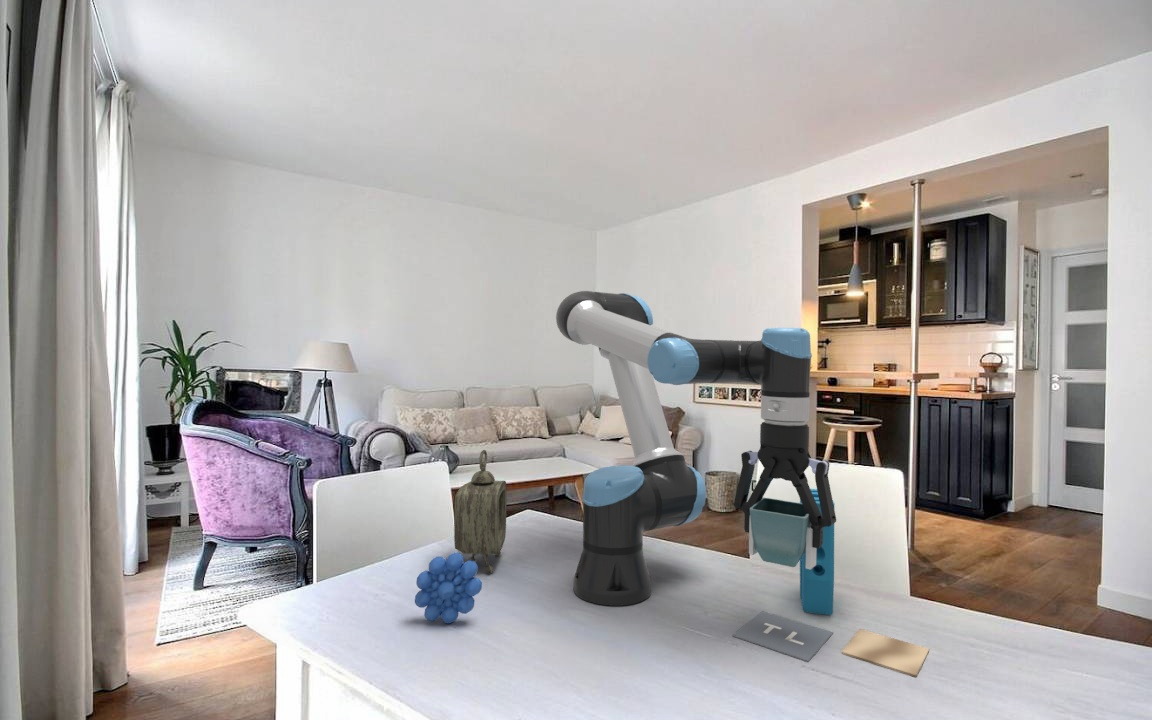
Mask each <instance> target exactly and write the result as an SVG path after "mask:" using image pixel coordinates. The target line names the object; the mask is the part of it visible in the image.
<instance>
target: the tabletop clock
mask: <svg viewBox="0 0 1152 720" xmlns="http://www.w3.org/2000/svg"><path fill="white" fill-rule="evenodd" d="M487 453H488V452H487V451H486V449H483V450H481V452H480V455H479V469H480V470H478V471H476V472H475V473H474V474H473V475H472V476H471V479H470V481H469V482H467V483H465V484H463V485H462V486H460V488H459V489H458V491H457V492H456V494H455V497H454V515H453V517H454V520H453V522H454V525H453V527H454V529H453V532H454V533H453V534H454V537H453V538H454V539H453V540H454V549H455V550H457V551H458V552H459V553H462V554H463V555H471V557H469V558H468V559H467V561H474V562H475V563H477V562H476V558H475V556H476V555H481V556H482V557H483V560H484V561H485V563H486V564H485V565H486V567H485V572H486V573H487V574H491V573H493V571H494V567H493V565H490V561H489V557H488V555H494V556H496V557H498V556H500V555H501V553H502V552H501V551H502V549H503V546H504V543H505V540H506V535H507V534H506V533H507V482H506V480H496V479H495V477H494V474H493V473H492V472H491V471H490V470H489V471H488V470H487V468H486V467H487V463H488V454H487ZM483 456H484V462H483Z"/></svg>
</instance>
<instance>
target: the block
mask: <svg viewBox="0 0 1152 720" xmlns="http://www.w3.org/2000/svg"><path fill="white" fill-rule="evenodd" d="M810 490H811V492H812V494H813V497H814V499H815V501H816V503H817V506H818V508H819V510H820V512H821V507H820V502H819V497H818V491H817V488H810ZM799 503H802V502H801V499H800V498H799ZM833 505H834V506H835V502H834V501H833ZM821 515H822V512H821ZM834 585H835V523H834V524H833V525H831V526H830V527H827V526H826V527H824V528H823V544H822V546H821V547H820V548H819V549H818V548H817V550H816V566H814V567H813V568H812V569H811V570H810V569H806V550H805V552H804V554H803V556H802V557H801V559H800V560H799V597H800V601H801V609H802V611H804V612H805V613H810V614H811V613H812V614H819V615H825V616H826V615H827V616H831V615H833V613H834V612H833V611H834V609H833V608H834V588H835V586H834Z"/></svg>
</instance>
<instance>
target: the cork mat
mask: <svg viewBox="0 0 1152 720" xmlns="http://www.w3.org/2000/svg"><path fill="white" fill-rule="evenodd" d="M929 652H930V647H929V648H927V647H924V646H920V645H917V644H914V643H911V642H908V641H904V640H900V639H897V638H893V637H890V636H887V635H883V634H880V633H876V632H872V631H869V630H865V629H861V628H859V629H858V630H857V632H856V633H854V635H853V636H852V638H851V639H850V640H849V641H848V643H847V644H846V645H845V646H844V648H843V649H842V650H841V654H843V655H845V656H848V657H851V658H855V659H858V660H860V661H861V660H862V661H864V662H867V663H870V664H873V665H877V666H879V667H883V668H886V669H889V670H892V671H895V672H898V673H900V674H901V673H902V674H904V675H907V676H911V677H914V678H917V677H918V675H919V673H920V671H921V668H922V667H923V664H924V663H925V661H926V658H927V656H928V654H929Z"/></svg>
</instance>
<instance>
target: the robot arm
mask: <svg viewBox="0 0 1152 720" xmlns="http://www.w3.org/2000/svg"><path fill="white" fill-rule="evenodd" d="M555 319H556V326H557V328H558V330H559V332H560V333H561V334H562V336H563V337H565V338H566V339H568V340H570V341H571V342H574V343H575V344H579V345H581V346H583V345H584V346H585V345H586V346H587V345H592V346H595V347H597V348H598V350H599V351H598V352H599V355H600V356H601V357H603V358H605V359H607V360H608V363H609V366H610V370H611V373H612V374H611V375H612V378H613V380H614V381H613V382H614V385H615V388H616V392H617V397H618V401H619V403H620V407H621V408H620V409H621V411H622V415H623V418H624V422H625V426H626V429H627V433H628V438H629V441H630V444H631V448H632V452H633V456H634V461H633V463H632V465H626V464H625V465H623V464H622V465H618V466H616V465H609V466H605V467H601V468H598V469H595V470H593V471H591V472H590V473H588V474H587V476H586V477H585V479H584V482H583V491H582V496H581V497H582V498H581V499H582V503H583V504H582V507H583V508H582V510H583V511H582V513H583V514H582V535H583V536H582V551H581V555H580V558H579V560H578V561H579V562H578V564H577V567H576V569H575V570H576V571H575V574H574V576H573V591H574V593H575V595H577V596H578V597H579V598H581V599H582V600H584V601H586V602H590V603H593V604H598V605H603V606H616V607H617V606H628V605H629V606H630V605H634V604H638V603H640V602H643V601H645V600H647V599H649V597H651V595H652V578H651V577H652V576H651V575H650V573H649V569H648V565H647V561H646V558H645V556H644V555H645V554H644V550H643V546H644V544H643V543H644V542H643V541H644V539H643V538H644V537H643V535H644V532H650V531H655V530H659V529H660V530H661V529H663V528H664V529H665V528H670V527H680V526H683V525H684V524H689V523H692V522H693V521H695V520H696V519H697V518H699V516H700V515H701V514H702V512H703V509H704V508H703V507H704V506H705V504H706V500H707V499H706V498H707V493H706V492H707V491H706V490H707V489H706V485H705V481H704V477H702V475H701V473H700V472H699V471H697V469H696V468H694V467H692V466H689V465H687V461H686V459H685V456H684V454H683V453H682V452H680V451H678V450H677V449H675V447H674V444H673V440H672V437H671V434H670V430H669V428H668V425H667V424H668V423H667V421H666V416H665V414H664V411H663V407H662V404H661V400H660V396H659V394H658V390H657V388H656V387H657V386H656V383H655V381H656V382H658V383H660V384H670V385H673V386H681V385H693V384H694V385H695V384H697V385H699V384H700V385H701V384H734V383H735V384H751V385H752V384H754V385H760V390H761V391H760V392H761V393H760V395H761V396H760V397H761V398H760V419H762V420H763V422H761V424H759V425H760V431H759V432H760V434H759V435H760V438H759V443H760V446H759V447H760V448H759V450H758V451H752V450H748V451H744V452H742V453H741V464H742V466H741V470H740V475H739V479H738V482H737V483H738V484H737V487H736V488H737V489H736V492H735V497H734V500H733V507H734V508H736V509H739V510H741V511H742V512H743V514H744V521H743V522H744V526H743V528H744V531H745V533H748V534H749V535H748V554H749V555H751V556H754V555H756V554H757V553H758V552H757V549H756V547H755V544H754V541H753V537H752V529H751V519H750V508H751V507H752V506H753V505H754V504H756V503H757V502H759V501H761V499H762V498H764V496H765V494H766V491H767V490H768V488H769V487H770V484H771V483H772V481H773V480H775V479H776V480H778V479H782V480H785V481H789V482H791V484H792V486H793V487H794V488H795V490H796V492H797V494H798V497H799V500H800V499H801V502H802V504H803V506H804V509H805V511H806V513H807V514H809V520H810V523H811V525H809V526H808V527H807V535H806V569H810V570H811V569H812V568H813V567H814V566H816V550H817V548H818V549H819V548H820V547H821V546H822V544H823V528H824V527H826V526H827V527H830V526H831V525H833V524H834V525H835V523H836V522H837V517H836V511H835V504H834V505H833V502H834V500H833V496H832V491H831V485H830V482H829V481H830V480H829V470H830V462H829V461H828V460H822V461H821V460H818V459H816V458H815V459H814V458H812V457H811V454H810V452H809V450H810V449H809V448H810V442H809V441H810V426H809V425H808V424H807V422H809V421H810V403H811V402H810V401H811V400H810V399H811V398H810V394H811V393H810V383H811V381H810V380H811V379H810V378H811V366H812V362H811V361H812V357H813V354H812V351H811V350H812V349H811V347H812V346H811V334H810V332H809V331H808V329H805V328H800V327H770V328H769V327H768V328H765V329H764V330H763V332H762V336H761V339H760V340H733V339H731V340H727V339H726V340H724V339H699V338H689V337H685V336H682V335H679V334H676V333H673V332H671V331H668V330H666V329H665V330H664V329H663V328H659V327H656V326H654V325H653V324H654V317H653V314H652V311H651V308H650V306H649V305H648V303H647V302H646V301H645V300H644V299H642V297H639V296H637V295H632V294H628V293H624V292H622V293H613V292H611V293H610V292H600V291H592V290H579V291H577V292H572V293H571V294H569V295H568V296H566V297H565V298H564V299H563V300H562V301H561V302H560V303H559V306H558V307H557V310H556V315H555ZM654 380H655V381H654ZM758 461H760V463H761V466H762V467H763V469H762V472H761V474H760V476H759V479H758V481H757V483H756V484H755V487H754V488H753V490H752V493H751V494H750V495H749V493H750V489H751V484H752V481H753V480H752V479H753V475H754V471H755V467H756V466H755V465H756V464H758ZM809 467H810V468H811V471H812V474H814V481H815V486H816V489H817V491H818V497H819V502H820V507H821V512H822V515H821V512H820V510H819V508H818V506H817V503H816V501H815V499H814V497H813V494H812V492H811V490H810V489H811V488H810V485H809V484H808V483H809V481H808V478H807V476H806V473H805V471H806V470H807V469H808V468H809ZM748 498H749V499H748Z"/></svg>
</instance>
